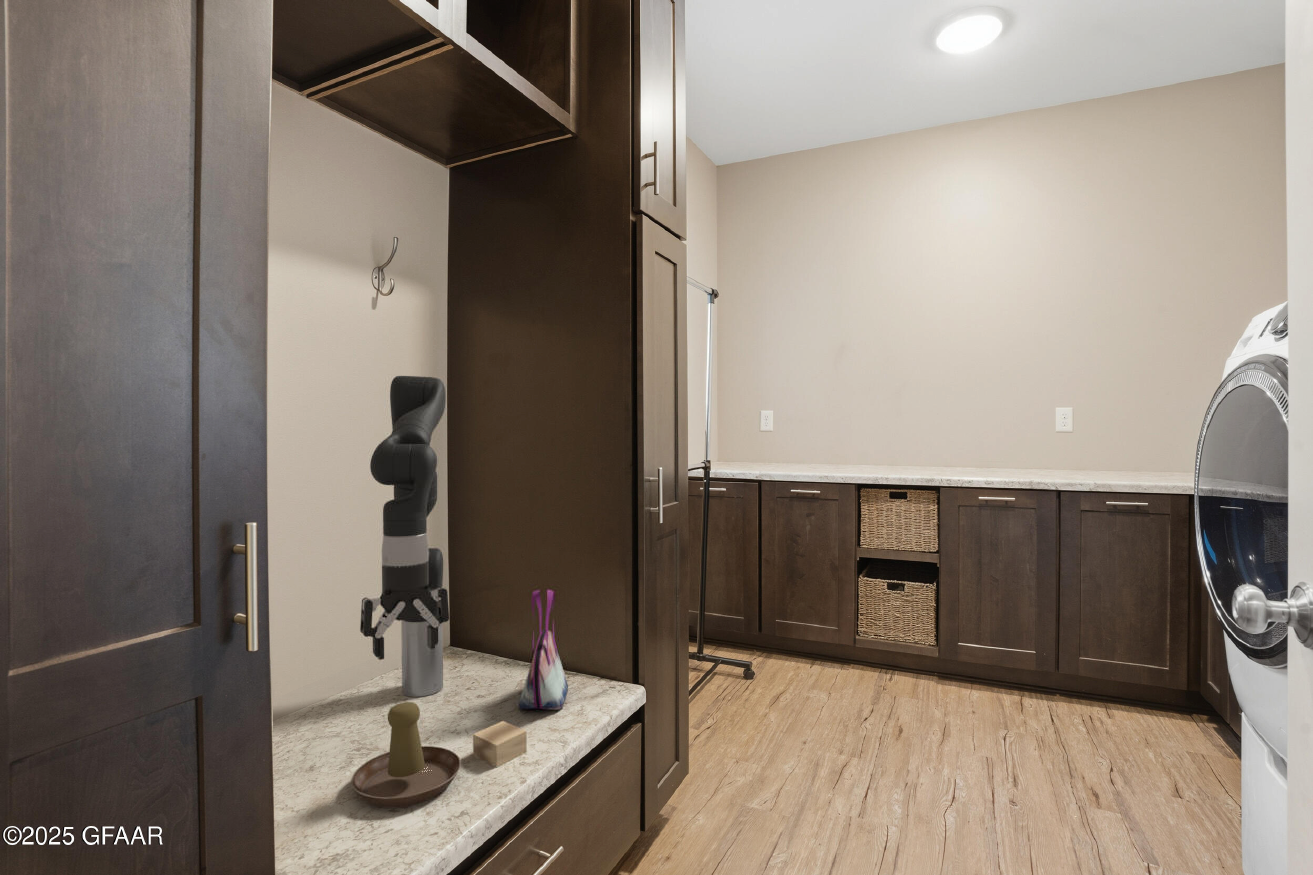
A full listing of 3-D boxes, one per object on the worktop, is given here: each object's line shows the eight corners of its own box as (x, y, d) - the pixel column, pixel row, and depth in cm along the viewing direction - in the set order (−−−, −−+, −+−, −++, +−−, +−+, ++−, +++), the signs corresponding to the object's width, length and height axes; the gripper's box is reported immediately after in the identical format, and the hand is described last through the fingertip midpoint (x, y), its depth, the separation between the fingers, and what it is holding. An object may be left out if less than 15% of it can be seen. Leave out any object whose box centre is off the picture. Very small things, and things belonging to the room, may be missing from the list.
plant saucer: (421, 751, 125) (421, 735, 125) (481, 779, 115) (481, 762, 115) (330, 793, 111) (330, 775, 111) (390, 830, 100) (390, 810, 100)
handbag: (530, 681, 158) (529, 579, 158) (571, 681, 158) (570, 579, 158) (512, 721, 136) (511, 603, 136) (560, 720, 137) (559, 602, 136)
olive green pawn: (411, 778, 109) (408, 713, 109) (379, 775, 110) (376, 711, 110) (431, 760, 115) (428, 698, 115) (401, 758, 116) (399, 697, 116)
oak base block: (473, 755, 122) (472, 734, 122) (502, 741, 128) (502, 721, 128) (496, 767, 118) (496, 745, 118) (526, 751, 124) (526, 730, 123)
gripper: (439, 551, 119) (440, 639, 120) (355, 561, 111) (356, 655, 111) (453, 558, 113) (454, 650, 114) (366, 569, 105) (367, 668, 105)
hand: (406, 652), depth 112 cm, fingers open, 8 cm apart
